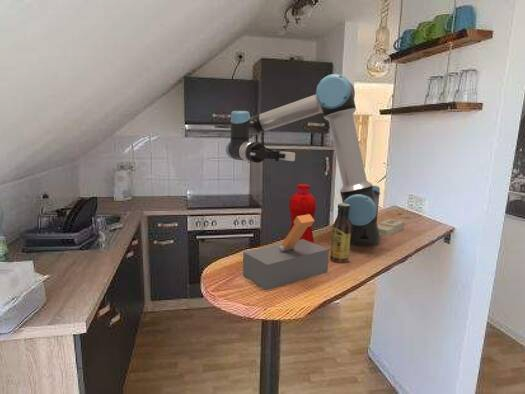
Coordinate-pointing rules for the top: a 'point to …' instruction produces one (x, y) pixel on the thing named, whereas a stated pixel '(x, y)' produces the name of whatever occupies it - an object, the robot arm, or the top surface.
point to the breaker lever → (296, 232)
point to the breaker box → (284, 264)
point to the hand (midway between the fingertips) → (293, 156)
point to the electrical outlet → (390, 227)
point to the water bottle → (302, 208)
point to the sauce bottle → (341, 234)
